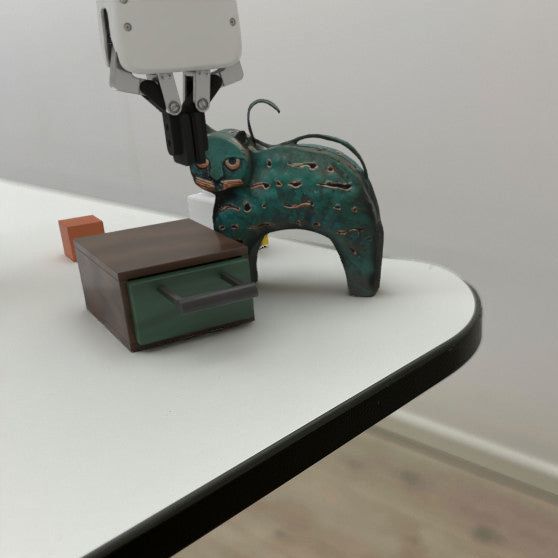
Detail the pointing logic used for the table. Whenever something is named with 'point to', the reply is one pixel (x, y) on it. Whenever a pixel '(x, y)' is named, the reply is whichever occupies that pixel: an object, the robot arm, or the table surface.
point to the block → (78, 231)
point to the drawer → (190, 299)
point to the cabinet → (145, 268)
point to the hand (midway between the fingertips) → (189, 162)
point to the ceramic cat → (294, 197)
